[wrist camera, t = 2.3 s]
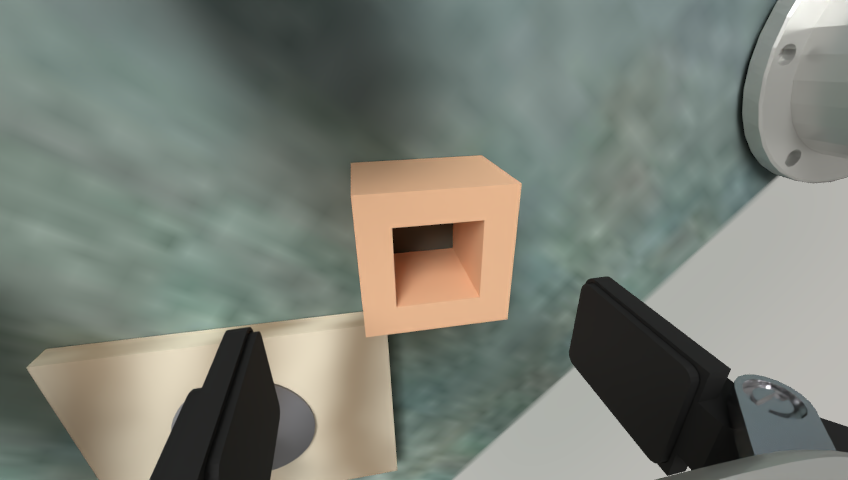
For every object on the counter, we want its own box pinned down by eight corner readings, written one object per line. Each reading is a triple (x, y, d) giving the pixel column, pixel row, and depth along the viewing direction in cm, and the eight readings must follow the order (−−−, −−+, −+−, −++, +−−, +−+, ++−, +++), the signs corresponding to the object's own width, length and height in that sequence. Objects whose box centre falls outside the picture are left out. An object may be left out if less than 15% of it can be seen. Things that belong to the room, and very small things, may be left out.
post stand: (384, 308, 20) (400, 425, 13) (395, 453, 25) (410, 586, 19) (45, 349, 17) (-131, 515, 11) (136, 499, 23) (51, 670, 16)
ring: (481, 155, 17) (521, 183, 13) (475, 267, 20) (507, 319, 16) (350, 162, 16) (350, 195, 12) (362, 279, 19) (365, 337, 15)
